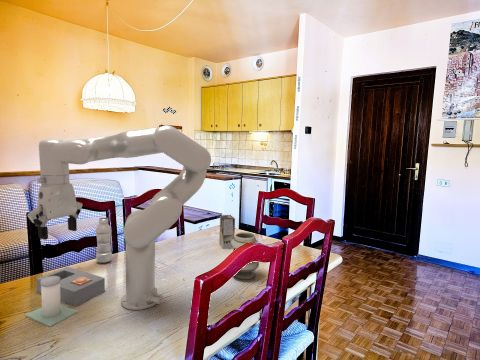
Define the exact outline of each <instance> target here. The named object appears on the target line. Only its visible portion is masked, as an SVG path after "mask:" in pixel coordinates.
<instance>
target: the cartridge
mask: <svg viewBox="0 0 480 360" xmlns="http://www.w3.org/2000/svg"><path fill="white" fill-rule="evenodd" d="M40 282H41V293H40V295H41V307H42V316H43V317H46V318H49V317H54V316H56V315H58V314H60V312H61V305H62V303H61V302H62V301H61V297H60V277H59V276H50V277H46V278H43V279H42V280H41V281H40Z"/></svg>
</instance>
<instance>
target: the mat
mask: <svg viewBox="0 0 480 360" xmlns="http://www.w3.org/2000/svg"><path fill="white" fill-rule="evenodd" d="M78 313H79V312H78V310H76V309H74V308H71V307H69V306H65V305H62V304H61V312H60V314H58V315H56V316H54V317H49V318H46V317H43V316H42V306H41V307H38V308H36V309H35V310H31V312H27V313H26V314H24V316H25V317H26V318H29V320H30V319H31V320H33V321H35V322H37V323H39V324H42V325H45V327H46V326H47V327H48V328H52V327H54V326H55V325H57V324H59V323H61V322H63V321H65V320H66V319H68V318H71V316H73V315H75V314H78Z"/></svg>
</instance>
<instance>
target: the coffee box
mask: <svg viewBox="0 0 480 360" xmlns="http://www.w3.org/2000/svg"><path fill="white" fill-rule="evenodd" d="M235 227H236V218H235V217H234V216H233V215H232V214H221V215H220V216H219V239H218V240H219V241H218V242H219V245H220V247H221V248H222V249H223V250H226V249H233V248H232V247H231V241H232V240H233V239H234V238H235V234H236V233H235V232H236V230H235V229H236V228H235Z"/></svg>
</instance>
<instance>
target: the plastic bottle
mask: <svg viewBox="0 0 480 360" xmlns="http://www.w3.org/2000/svg"><path fill="white" fill-rule="evenodd" d="M98 223H99V224H98V225H97V226H96V228H95V236H96V242H97V243H96V244H97V245H96V246H97V247H96V248H97V249H96V256H95V258H96V261H97V262H98V263H99V264H100V263H101V264H104V263H105V264H106V263H109V262H111V260H112V259H113V252H112V247H111V236H112V227H111V225H110V224H108V223H109V217H99V219H98Z"/></svg>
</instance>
